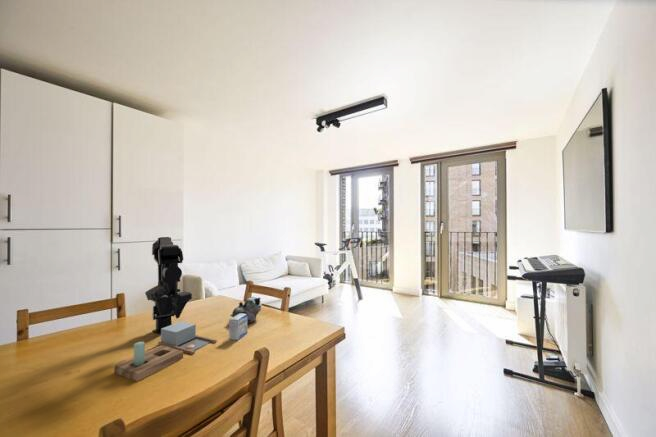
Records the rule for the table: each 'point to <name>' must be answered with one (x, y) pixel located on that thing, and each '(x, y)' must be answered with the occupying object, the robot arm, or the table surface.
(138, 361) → the teal peg
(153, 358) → the board
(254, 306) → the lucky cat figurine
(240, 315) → the medicine box
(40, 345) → the table surface
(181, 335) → the cover
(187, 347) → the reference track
